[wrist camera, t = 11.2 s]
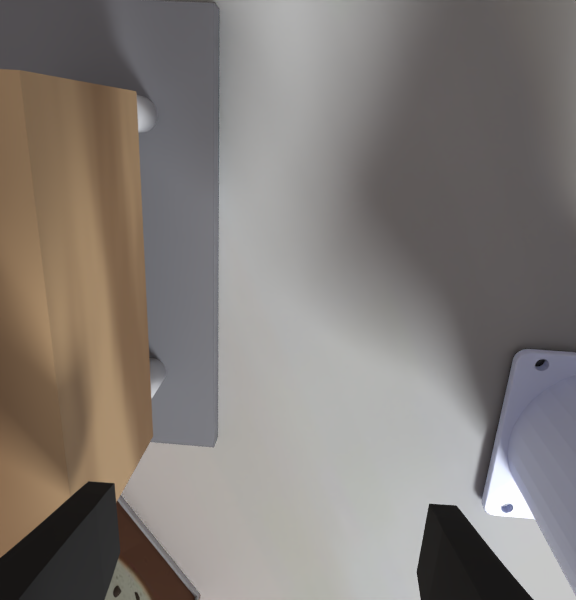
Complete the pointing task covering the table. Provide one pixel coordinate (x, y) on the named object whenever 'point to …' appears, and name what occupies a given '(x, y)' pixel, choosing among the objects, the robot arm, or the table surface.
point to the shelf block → (69, 295)
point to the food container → (145, 565)
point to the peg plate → (153, 170)
